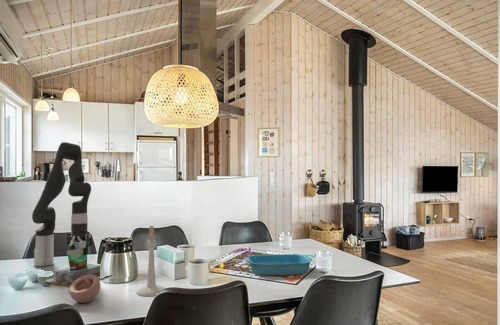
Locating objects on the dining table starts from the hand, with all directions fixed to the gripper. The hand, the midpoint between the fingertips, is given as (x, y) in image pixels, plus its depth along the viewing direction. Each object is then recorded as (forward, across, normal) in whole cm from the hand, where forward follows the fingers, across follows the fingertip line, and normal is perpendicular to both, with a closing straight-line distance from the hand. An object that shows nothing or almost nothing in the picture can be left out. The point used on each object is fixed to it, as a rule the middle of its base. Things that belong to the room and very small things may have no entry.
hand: (79, 254), depth 192 cm
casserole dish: (+12, +90, +51) cm, 104 cm away
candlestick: (+12, +46, -4) cm, 48 cm away
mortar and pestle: (+12, +28, -25) cm, 40 cm away
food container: (+7, +2, 0) cm, 7 cm away
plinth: (+12, 0, 0) cm, 12 cm away
